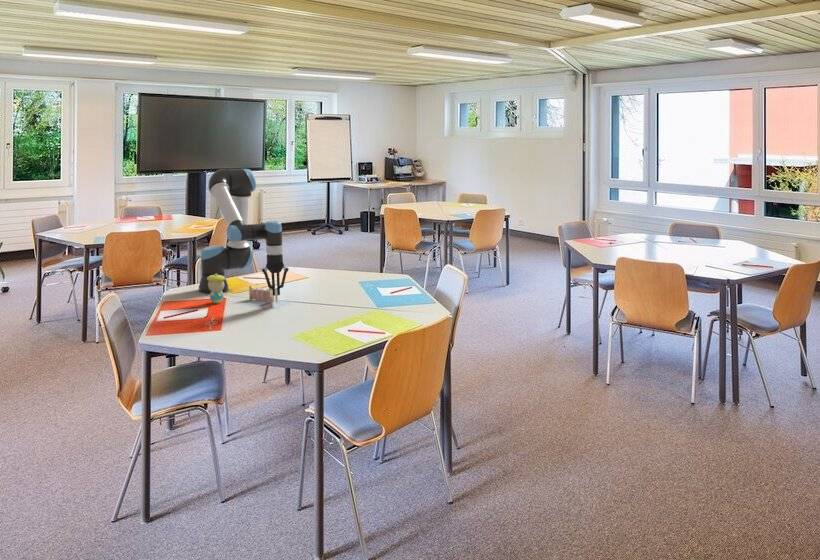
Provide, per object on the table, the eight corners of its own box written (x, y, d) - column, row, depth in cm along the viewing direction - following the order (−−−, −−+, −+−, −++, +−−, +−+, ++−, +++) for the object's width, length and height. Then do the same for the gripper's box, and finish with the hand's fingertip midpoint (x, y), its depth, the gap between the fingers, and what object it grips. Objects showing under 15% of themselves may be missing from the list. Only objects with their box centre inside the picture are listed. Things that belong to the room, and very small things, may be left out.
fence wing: (270, 301, 329) (270, 290, 328) (272, 301, 329) (272, 290, 328) (270, 307, 319) (270, 294, 318) (272, 307, 319) (272, 294, 318)
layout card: (242, 305, 324) (242, 304, 324) (258, 299, 337) (258, 298, 337) (277, 309, 318) (277, 308, 317) (292, 303, 330) (292, 302, 330)
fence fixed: (275, 302, 331) (274, 287, 330) (272, 303, 329) (272, 288, 328) (251, 299, 336) (250, 284, 335) (248, 300, 334) (247, 285, 332)
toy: (217, 300, 332) (215, 271, 329) (229, 303, 327) (228, 273, 324) (204, 303, 326) (202, 273, 323) (216, 306, 321) (215, 275, 318)
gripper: (260, 255, 312) (262, 304, 317) (288, 254, 314) (289, 303, 319) (261, 252, 320) (263, 300, 324) (288, 252, 322) (289, 299, 327)
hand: (276, 301), depth 322 cm, fingers closed
